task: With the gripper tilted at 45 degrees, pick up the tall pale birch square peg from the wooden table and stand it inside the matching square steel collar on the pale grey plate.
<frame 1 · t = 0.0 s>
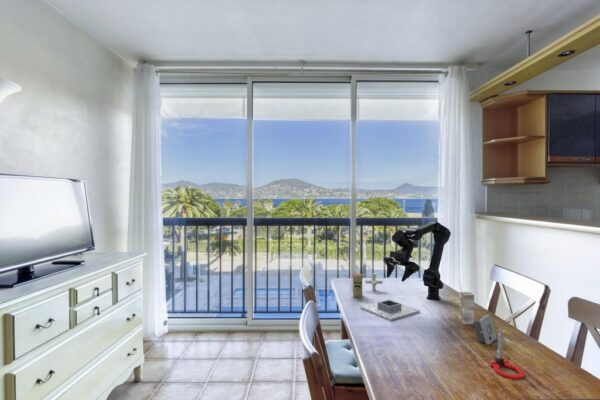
hand: (394, 279, 167), 15 cm above the table, tool tilted 35°, fingers open, 9 cm apart
tow hook: (507, 372, 109), on the table
electrical switch: (485, 340, 132), on the table
pipe connector: (373, 290, 200), on the table
birch peg: (466, 322, 151), on the table
shoe polish box: (357, 296, 189), on the table
socket plate: (389, 310, 166), on the table
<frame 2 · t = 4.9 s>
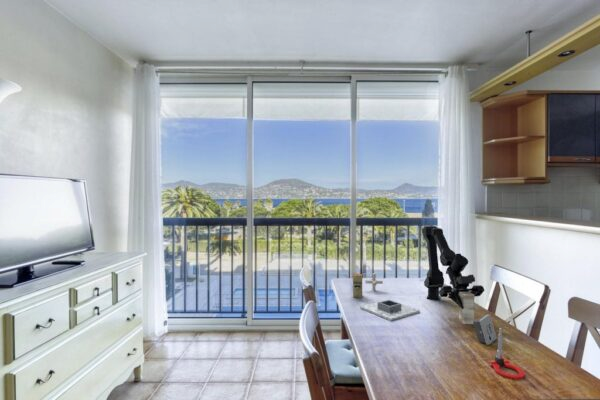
hand: (468, 308, 149), 7 cm above the table, tool tilted 45°, fingers closed on birch peg, 4 cm apart
birch peg: (466, 322, 151), on the table, touching gripper
everything else where it was.
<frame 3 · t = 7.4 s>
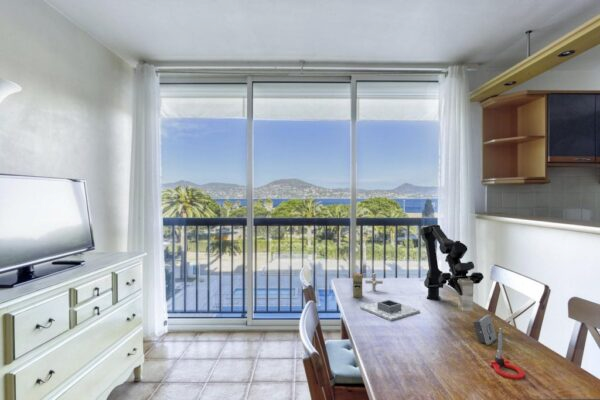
hand: (467, 295, 149), 12 cm above the table, tool tilted 45°, fingers closed on birch peg, 4 cm apart
birch peg: (465, 308, 151), point 6 cm above the table, touching gripper
everything else where it was.
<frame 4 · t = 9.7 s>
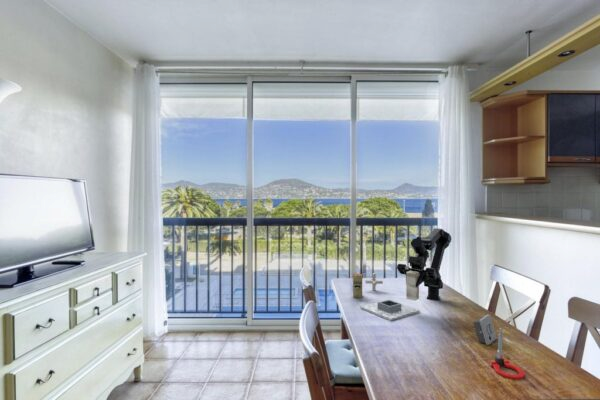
hand: (411, 285, 164), 13 cm above the table, tool tilted 45°, fingers closed on birch peg, 4 cm apart
birch peg: (412, 298, 165), point 6 cm above the table, touching gripper
everything else where it was.
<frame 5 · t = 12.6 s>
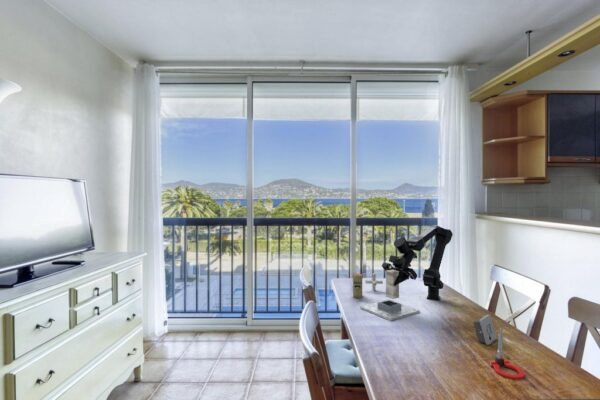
hand: (390, 284, 167), 13 cm above the table, tool tilted 45°, fingers closed on birch peg, 4 cm apart
birch peg: (392, 297, 167), point 6 cm above the table, touching gripper
everything else where it was.
when the fingers open (8 cm above the table, at t = 14.9 s): birch peg stays where it is, resting on socket plate.
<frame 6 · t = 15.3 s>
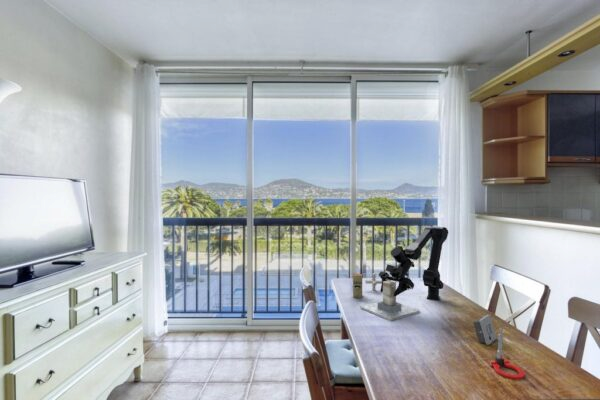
hand: (387, 293, 166), 8 cm above the table, tool tilted 45°, fingers open, 8 cm apart
birch peg: (389, 308, 166), point 1 cm above the table, touching socket plate
everything else where it was.
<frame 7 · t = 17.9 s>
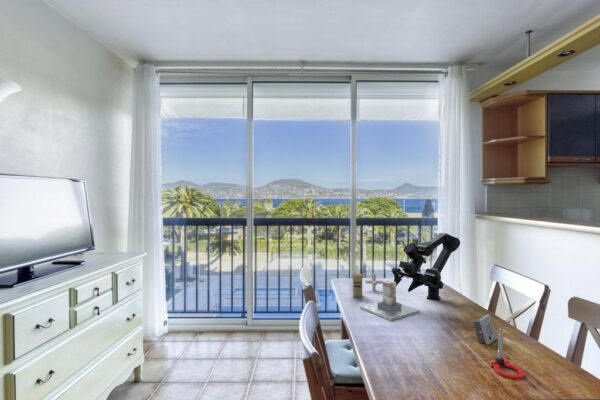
hand: (400, 289, 171), 9 cm above the table, tool tilted 45°, fingers open, 9 cm apart
nothing on the table moved.
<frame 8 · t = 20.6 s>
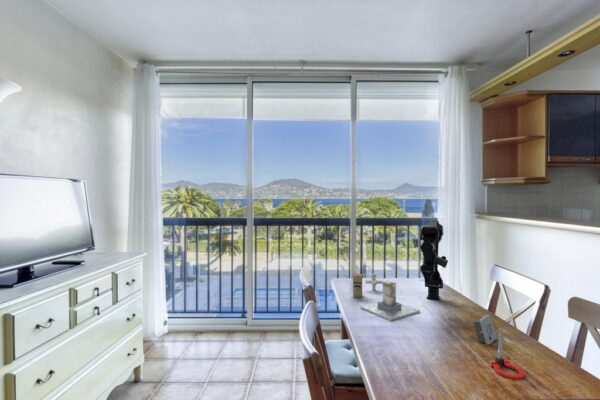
hand: (429, 282, 169), 13 cm above the table, tool pointing down, fingers open, 9 cm apart
nothing on the table moved.
at the end: birch peg 0.0 cm off-centre on the socket plate, point 1.0 cm above the socket plate's base; birch peg tilted 0°; the gripper is holding nothing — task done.
